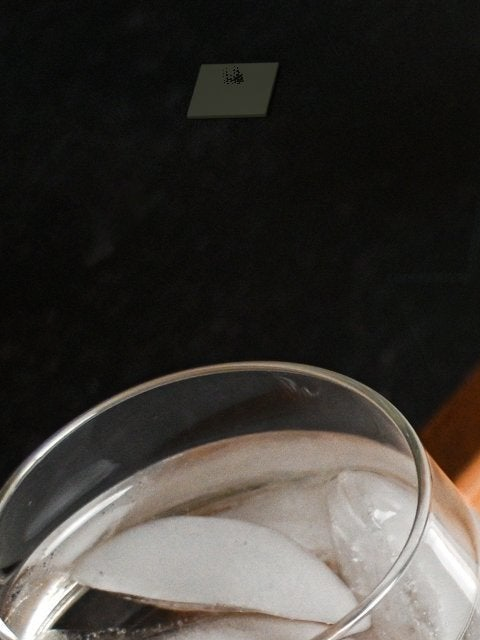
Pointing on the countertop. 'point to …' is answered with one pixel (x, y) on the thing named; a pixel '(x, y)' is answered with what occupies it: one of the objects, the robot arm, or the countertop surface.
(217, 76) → the tile
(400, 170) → the countertop surface
